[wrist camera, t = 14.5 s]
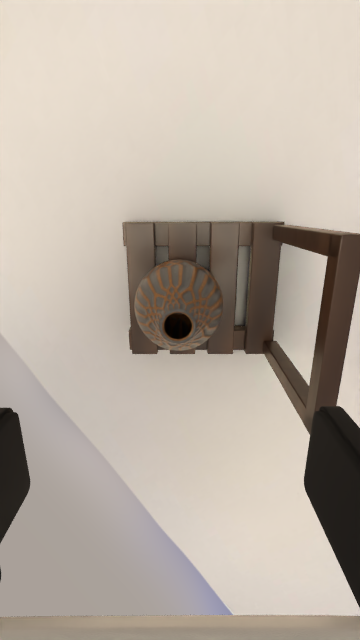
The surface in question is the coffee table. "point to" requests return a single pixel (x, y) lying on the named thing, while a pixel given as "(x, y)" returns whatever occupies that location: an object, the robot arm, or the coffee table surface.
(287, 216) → the coffee table surface
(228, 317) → the rack
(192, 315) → the vase
